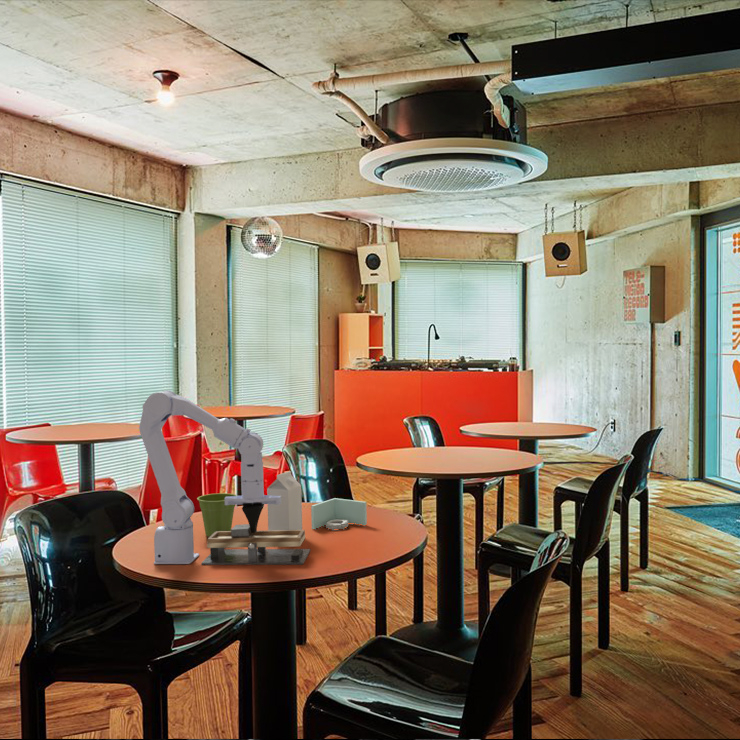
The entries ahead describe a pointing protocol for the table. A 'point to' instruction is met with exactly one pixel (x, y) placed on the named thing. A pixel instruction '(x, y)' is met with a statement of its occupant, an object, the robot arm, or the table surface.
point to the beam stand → (256, 556)
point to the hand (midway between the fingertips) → (253, 532)
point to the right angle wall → (338, 513)
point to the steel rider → (241, 531)
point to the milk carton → (285, 504)
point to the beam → (258, 539)
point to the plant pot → (216, 512)
